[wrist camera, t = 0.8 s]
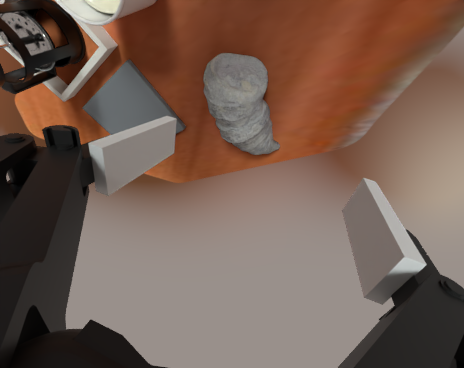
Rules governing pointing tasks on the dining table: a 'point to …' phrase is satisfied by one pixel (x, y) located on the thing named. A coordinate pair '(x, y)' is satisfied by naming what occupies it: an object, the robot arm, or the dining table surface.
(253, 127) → the seashell
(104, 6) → the candle holder
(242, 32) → the dining table surface
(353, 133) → the dining table surface
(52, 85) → the holder frame
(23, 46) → the french press
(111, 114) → the slate mat
